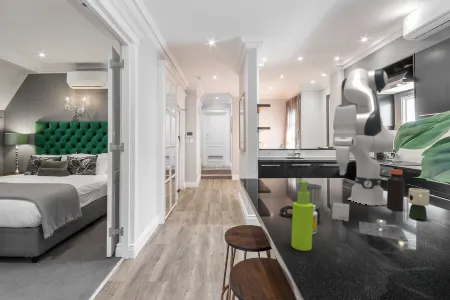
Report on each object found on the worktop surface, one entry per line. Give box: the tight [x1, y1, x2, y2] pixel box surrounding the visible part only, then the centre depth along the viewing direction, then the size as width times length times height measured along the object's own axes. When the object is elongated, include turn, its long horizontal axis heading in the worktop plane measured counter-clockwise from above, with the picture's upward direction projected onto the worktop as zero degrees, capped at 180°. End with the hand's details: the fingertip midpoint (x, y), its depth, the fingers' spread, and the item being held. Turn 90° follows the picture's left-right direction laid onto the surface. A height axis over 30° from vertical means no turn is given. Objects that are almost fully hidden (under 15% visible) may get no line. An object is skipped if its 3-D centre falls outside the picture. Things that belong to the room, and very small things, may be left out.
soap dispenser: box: [290, 179, 313, 252], centre depth 75 cm, size 6×7×20 cm
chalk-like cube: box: [331, 202, 350, 222], centre depth 105 cm, size 6×6×6 cm
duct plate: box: [358, 218, 409, 242], centre depth 90 cm, size 14×14×4 cm
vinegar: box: [386, 168, 405, 212], centre depth 123 cm, size 7×7×20 cm
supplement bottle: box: [312, 205, 318, 235], centre depth 87 cm, size 5×5×10 cm
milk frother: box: [279, 183, 323, 225], centre depth 102 cm, size 14×16×15 cm
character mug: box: [407, 187, 430, 221], centre depth 107 cm, size 11×7×13 cm, turn 149°
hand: (343, 174), depth 104 cm, fingers open, 8 cm apart
